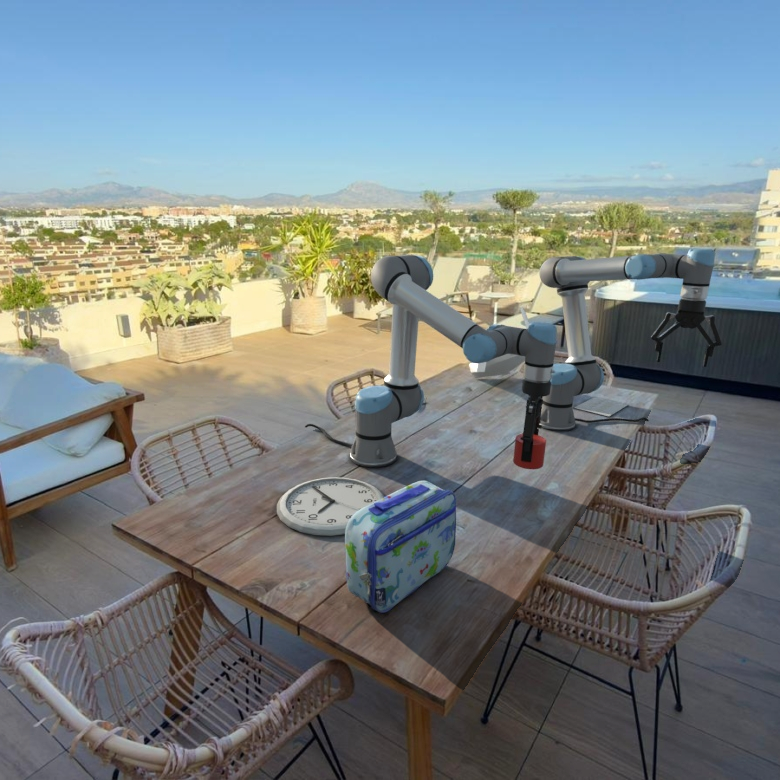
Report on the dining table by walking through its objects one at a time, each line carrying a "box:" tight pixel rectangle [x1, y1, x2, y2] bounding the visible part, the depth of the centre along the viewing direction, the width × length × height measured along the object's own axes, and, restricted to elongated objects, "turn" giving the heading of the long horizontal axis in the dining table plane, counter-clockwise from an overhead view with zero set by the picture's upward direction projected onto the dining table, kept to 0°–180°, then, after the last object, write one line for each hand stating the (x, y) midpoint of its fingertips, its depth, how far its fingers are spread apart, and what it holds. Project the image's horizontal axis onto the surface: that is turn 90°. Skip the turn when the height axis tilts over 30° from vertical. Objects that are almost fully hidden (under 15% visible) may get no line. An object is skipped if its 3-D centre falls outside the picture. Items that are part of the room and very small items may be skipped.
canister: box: [512, 433, 547, 470], centre depth 150 cm, size 8×8×8 cm
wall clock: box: [276, 476, 386, 537], centre depth 142 cm, size 30×2×30 cm
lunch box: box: [344, 480, 457, 614], centre depth 109 cm, size 26×11×21 cm, turn 135°
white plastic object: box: [468, 307, 531, 379], centre depth 257 cm, size 37×45×31 cm
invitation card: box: [573, 396, 629, 418], centre depth 226 cm, size 21×1×15 cm
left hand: (528, 454), depth 151 cm, fingers closed on canister, 8 cm apart
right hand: (680, 363), depth 173 cm, fingers open, 13 cm apart
